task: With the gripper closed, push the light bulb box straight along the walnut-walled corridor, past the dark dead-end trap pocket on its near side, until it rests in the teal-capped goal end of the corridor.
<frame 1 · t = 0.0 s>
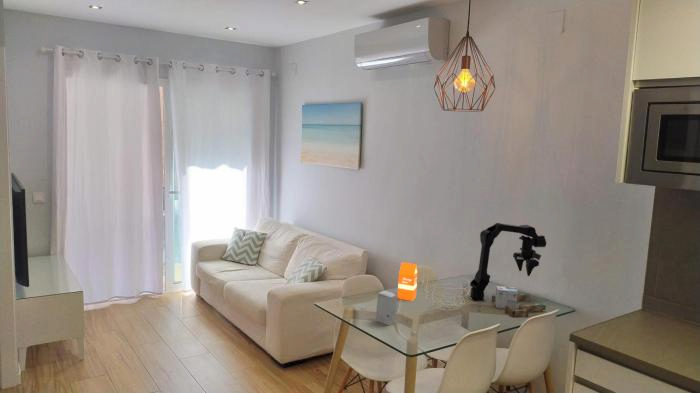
hand: (524, 273, 291), 15 cm above the table, fingers open, 9 cm apart
orange juice: (406, 297, 286), on the table
light bulb box: (505, 307, 278), on the table
skincare box: (385, 322, 250), on the table
corridor: (516, 306, 279), on the table
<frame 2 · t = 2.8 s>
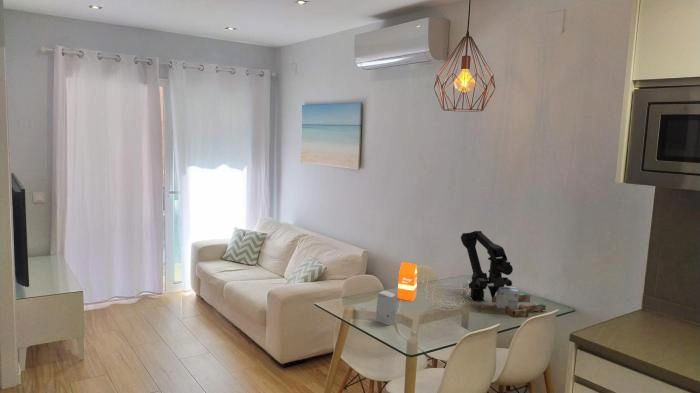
hand: (492, 297, 275), 6 cm above the table, fingers closed
nothing on the table moved.
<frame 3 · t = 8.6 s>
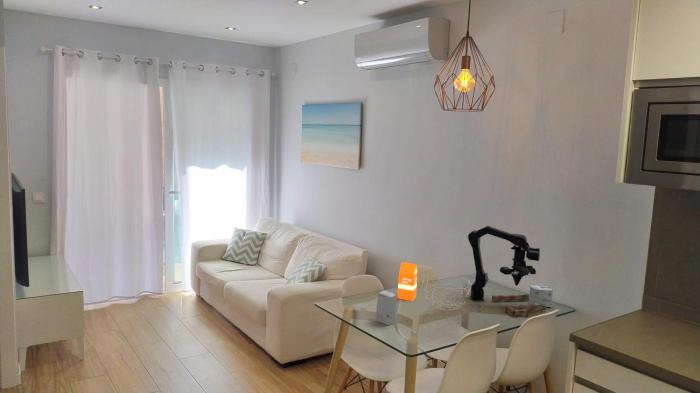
hand: (516, 285, 278), 12 cm above the table, fingers closed
light bulb box: (539, 306, 282), on the table
everything else where it was.
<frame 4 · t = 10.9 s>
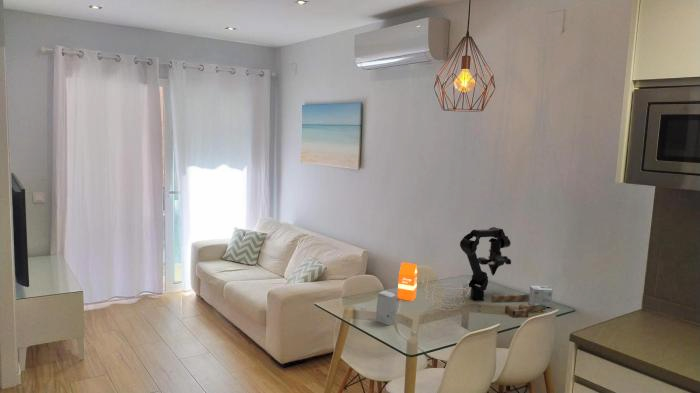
hand: (492, 275, 295), 12 cm above the table, fingers closed
nothing on the table moved.
at the end: light bulb box inside the target area (4.4 cm from its centre), on the table; light bulb box tilted 0°; light bulb box moved 20.9 cm from its start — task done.
